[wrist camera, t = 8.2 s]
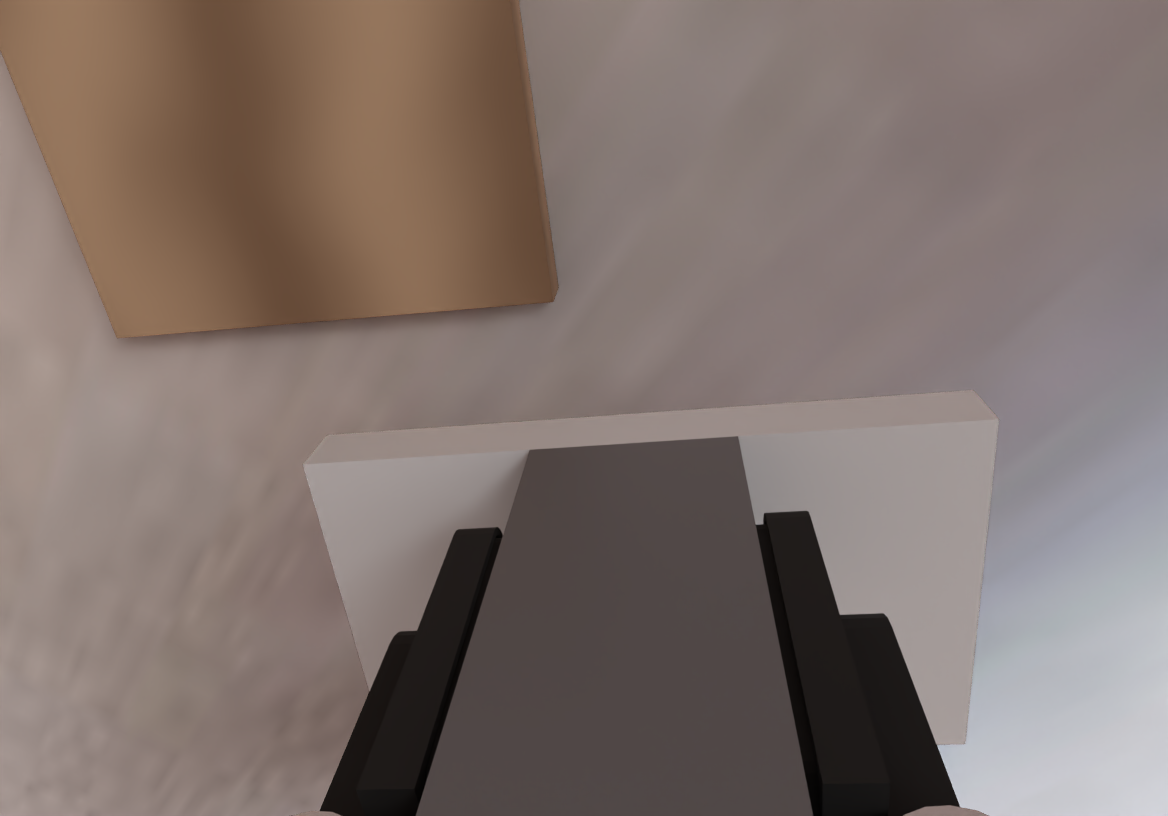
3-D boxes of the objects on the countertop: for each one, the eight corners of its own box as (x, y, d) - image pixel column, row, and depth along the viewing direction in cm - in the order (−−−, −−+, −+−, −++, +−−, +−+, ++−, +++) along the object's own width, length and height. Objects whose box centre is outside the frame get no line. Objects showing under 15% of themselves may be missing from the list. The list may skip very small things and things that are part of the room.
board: (477, -296, 15) (464, -315, 14) (558, 287, 19) (553, 302, 19) (-61, -195, 16) (-104, -206, 15) (140, 323, 21) (117, 338, 20)
